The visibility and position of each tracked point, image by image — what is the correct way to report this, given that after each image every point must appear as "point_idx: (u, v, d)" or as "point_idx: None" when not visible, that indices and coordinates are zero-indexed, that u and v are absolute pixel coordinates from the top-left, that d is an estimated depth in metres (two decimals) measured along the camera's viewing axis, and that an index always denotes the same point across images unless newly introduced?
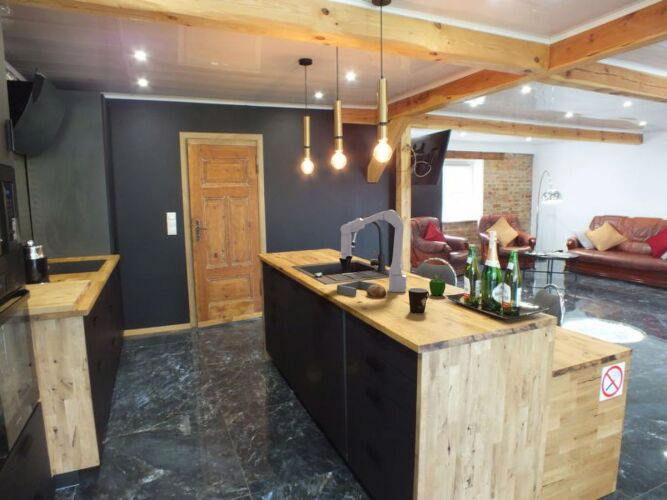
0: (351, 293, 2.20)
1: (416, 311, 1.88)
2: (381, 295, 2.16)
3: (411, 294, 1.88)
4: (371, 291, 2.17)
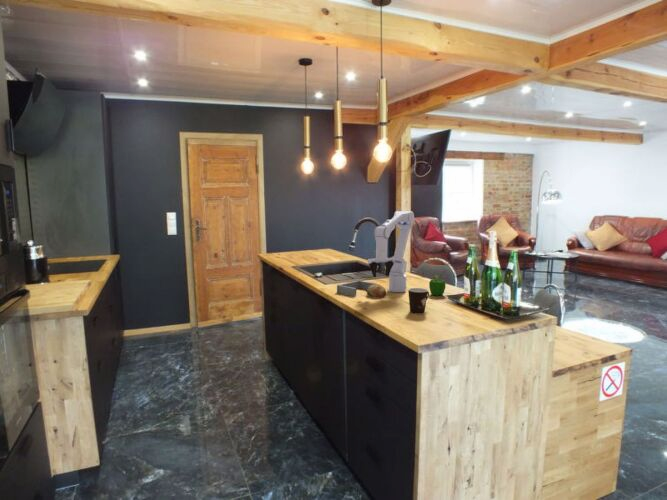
0: (351, 293, 2.20)
1: (416, 311, 1.88)
2: (381, 295, 2.16)
3: (411, 294, 1.88)
4: (371, 291, 2.17)
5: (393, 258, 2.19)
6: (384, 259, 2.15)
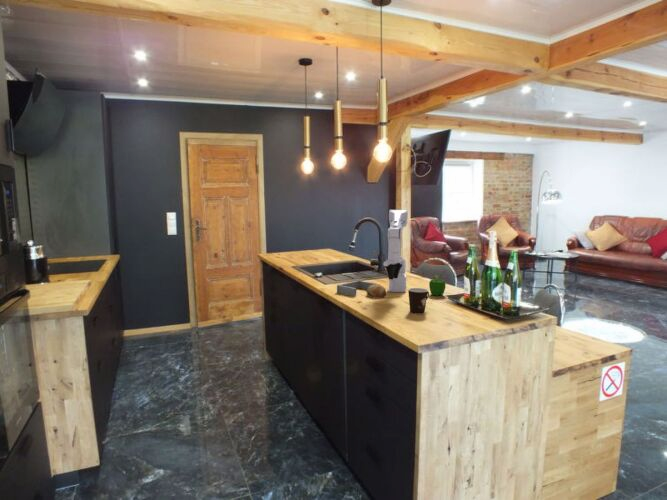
0: (351, 293, 2.20)
1: (416, 311, 1.88)
2: (381, 295, 2.16)
3: (411, 294, 1.88)
4: (371, 291, 2.17)
5: (402, 259, 2.16)
6: (398, 261, 2.10)
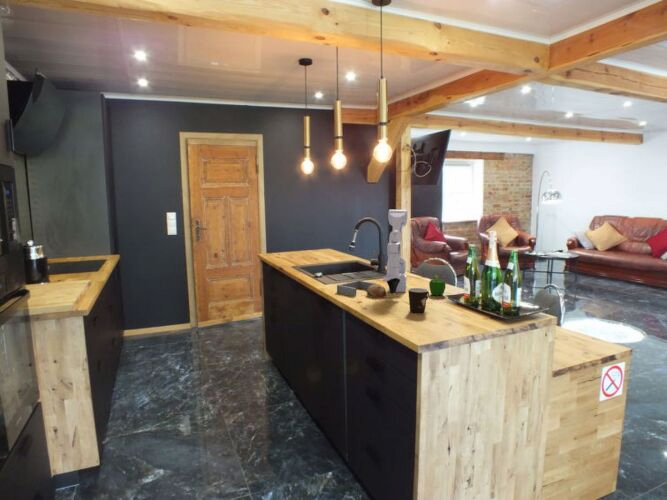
0: (351, 293, 2.20)
1: (416, 311, 1.88)
2: (381, 295, 2.16)
3: (411, 294, 1.88)
4: (371, 291, 2.17)
5: (402, 274, 2.17)
6: (398, 276, 2.11)
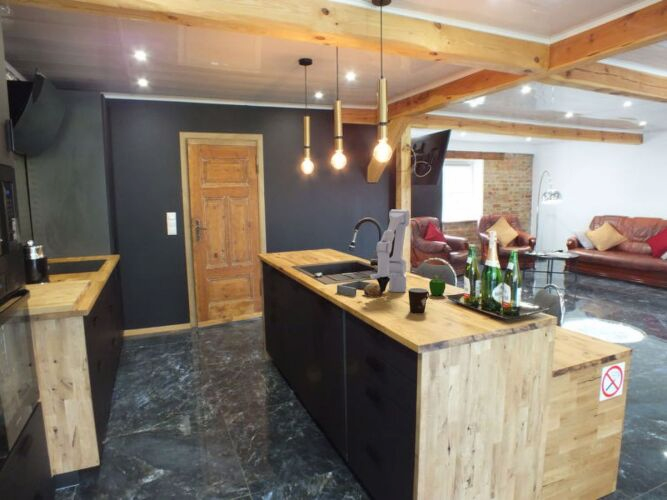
0: (351, 293, 2.20)
1: (416, 311, 1.88)
2: (378, 294, 2.18)
3: (411, 294, 1.88)
4: (368, 290, 2.19)
5: (394, 273, 2.19)
6: (386, 274, 2.14)
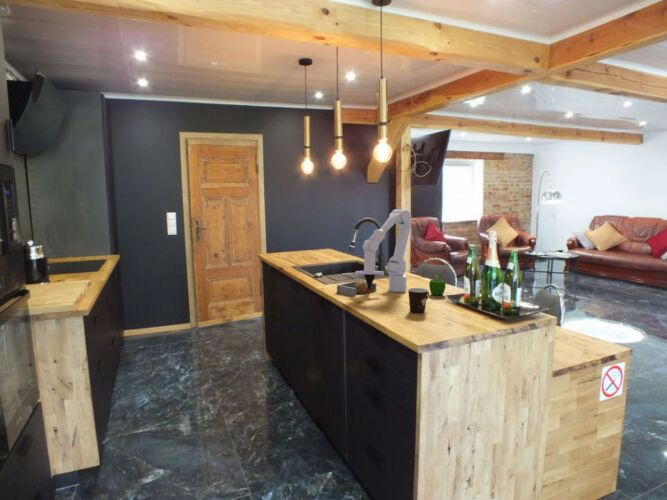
0: (351, 293, 2.20)
1: (416, 311, 1.88)
2: (365, 291, 2.24)
3: (411, 294, 1.88)
4: (356, 287, 2.26)
5: (382, 272, 2.22)
6: (370, 272, 2.20)
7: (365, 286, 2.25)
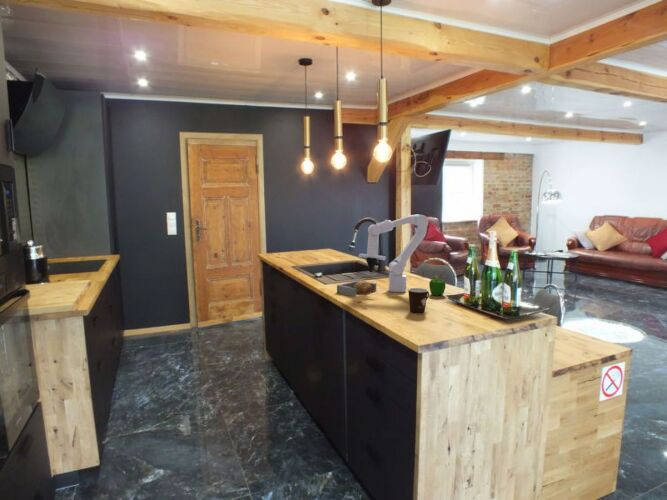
0: (351, 293, 2.20)
1: (416, 311, 1.88)
2: (365, 291, 2.25)
3: (411, 294, 1.88)
4: (356, 287, 2.27)
5: (383, 256, 2.26)
6: (370, 255, 2.27)
7: (365, 286, 2.25)
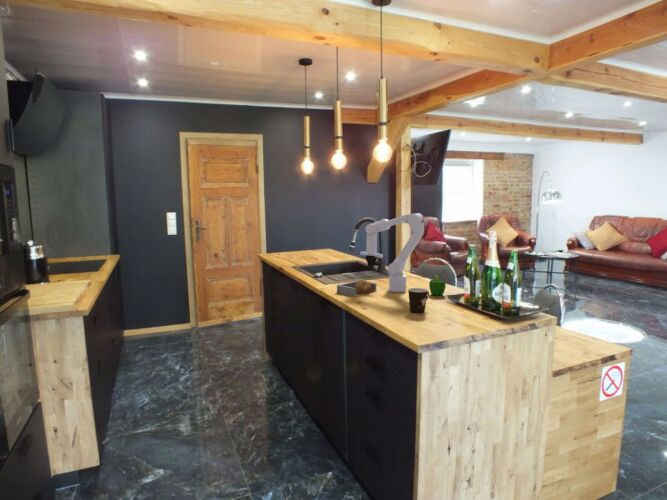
0: (351, 293, 2.20)
1: (416, 311, 1.88)
2: (365, 291, 2.25)
3: (411, 294, 1.88)
4: (356, 287, 2.27)
5: (379, 254, 2.33)
6: (368, 253, 2.36)
7: (365, 286, 2.25)
